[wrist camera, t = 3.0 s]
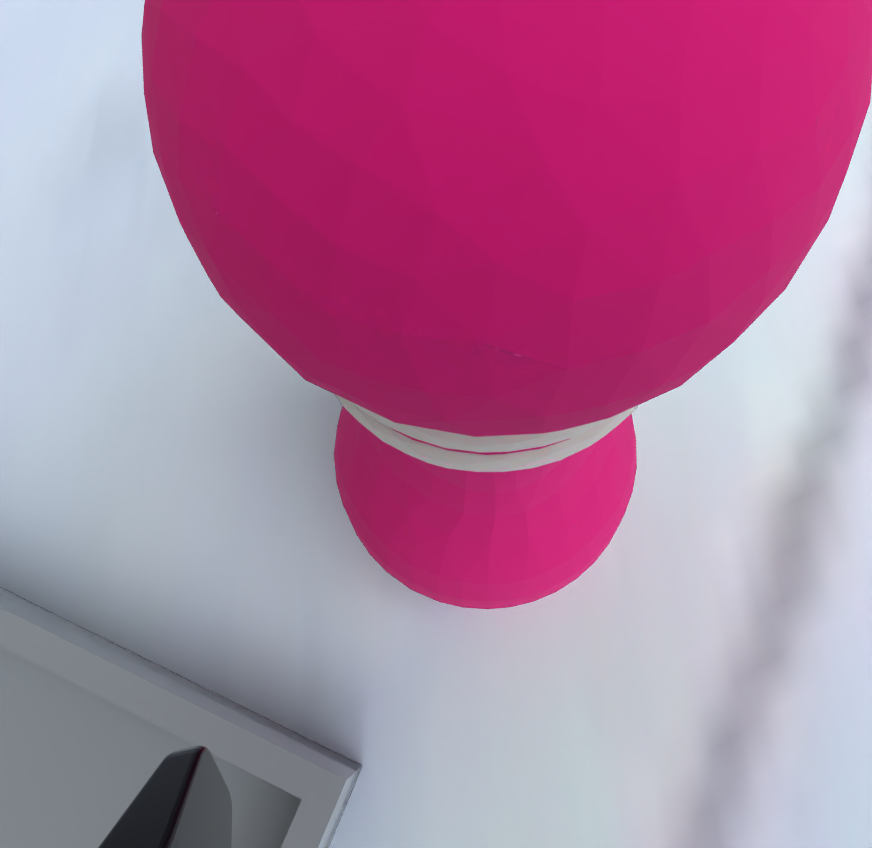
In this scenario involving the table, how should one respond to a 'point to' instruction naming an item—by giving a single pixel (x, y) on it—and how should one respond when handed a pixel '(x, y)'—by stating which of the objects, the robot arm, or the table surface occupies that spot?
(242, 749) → the tray
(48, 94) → the table surface
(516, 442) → the pepper mill
